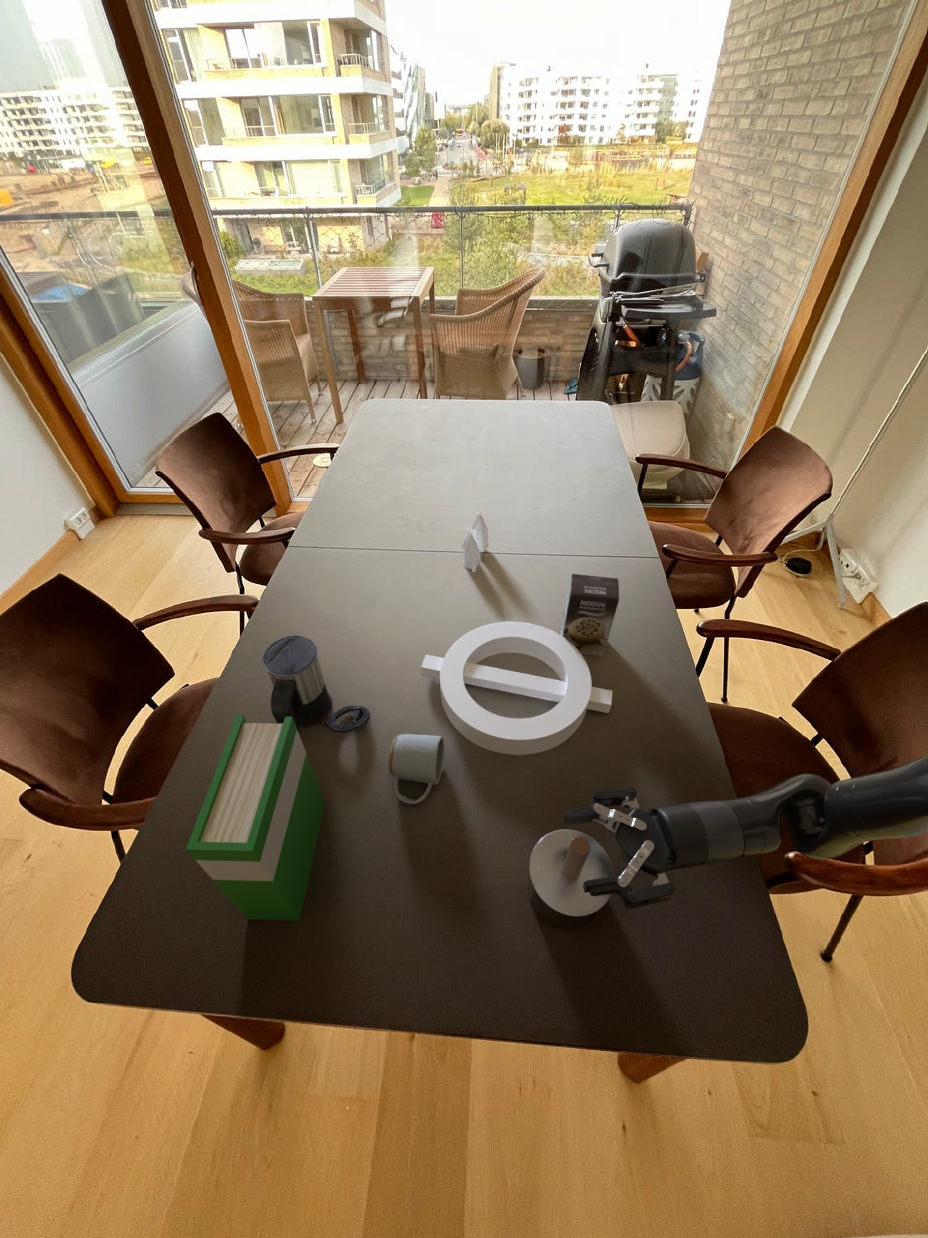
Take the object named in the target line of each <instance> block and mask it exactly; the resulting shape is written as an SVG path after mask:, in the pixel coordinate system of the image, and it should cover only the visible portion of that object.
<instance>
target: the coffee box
mask: <svg viewBox="0 0 928 1238" xmlns="http://www.w3.org/2000/svg"><path fill="white" fill-rule="evenodd" d="M570 574H571V575H570V581H569V585H568V591H567V596H566V601H565V605H564V611H563V616H562V621H561V627H560V630H559V631H560V633H559V635H561V636H562V637H564V638H565V639H567V640H568V641H569V642H570V643H571V644H573V645H574V646H575V647H576V648H577V650H578V651H579V652H580V653H581V655H585V656H593V657H601V658H603V657H605V656H604V655H605V651H606V647H607V645H608V641H609V638H610V634H611V631H612V626H613V624H614V619H615V616H616V613H617V609H618V605H619V602H620V589H619V588H620V586H619V585H620V584H619V579H618V578H616V577H606V576H597V575H589V574H588V575H587V574H578V573H570Z"/></svg>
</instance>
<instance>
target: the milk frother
mask: <svg viewBox="0 0 928 1238" xmlns="http://www.w3.org/2000/svg"><path fill="white" fill-rule="evenodd" d="M261 660H262V661H261V664H262V666H263V668H264V669H265V671H266V672H267V674H268V675H269V679H270V681H271V684H272V686H273V688H272V692H271V696H270V709H271V714H272V716H273V718H274V720H275V722H276V724H283V722H284V719H285V717H293V720H294V723H295V725H296V728H297V730H298V733H299V736H300V737H301V733H302V732H301V728H309V727H313V726H316V725H318V724H319V723H322V724H323V726H325V727H326V728H327V729H328V730H329V731H330V732H332V733H335V734H348V733H352V732H355V731H357V730H359V729H360V728H361V729H362V727H364V726H365V725H366V724H367V723H368V722H369V720H370V719H371V712H370V710H369V709H368V708H367V707H366V706H363V705H361V704H358V705H357V704H356V705H349V706H344V707H343V708H341V709H339V710H337V711H335V712H334V713H332V715H331V716H330V718H329V720H328V721H327V720H326V718H327V717H328V715H329V714H330V712H331V711H332V708H333V707H332V706H333V700H332V696H331V695H330V694H329V692H328V689H327V685H326V683H325V679H324V676H323V671H322V668H321V665H320V661H319V657H318V647H317V645H316V644H315V642H313V640H312V639H310V638H307V637H304V636H301V635H289V636H285V637H282V638H278V639H277V640H275V641H274V642H272V643H271V644H270V645H269V646H268V647H267V648H266V649H265V651H264V653H263V655H262V658H261ZM347 713H352V717H351V724H348V725H343V726H342V725H338V724H336V722H337V720H338V719H339V718H341V716H343V715H345V714H347Z"/></svg>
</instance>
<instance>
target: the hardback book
mask: <svg viewBox="0 0 928 1238" xmlns="http://www.w3.org/2000/svg"><path fill="white" fill-rule="evenodd" d="M303 743H304V742H303V741H302V739H301V735H300V736H299V733H298V730H297V728H296V725H295V723H294V720H293V717H285V719H284V722H283V724H277V723H273V722H272V723H269V722H268V723H267V722H266V723H265V722H247V720H246V718H245V716H244V715H236V716H235V719H234V721H233V724H232V726H231V729H230V732H229V734H228V737H227V740H226V742H225V745H224V748H223V750H222V753H221V755H220V759H219V760H218V763H217V766H216V768H215V772H214V774H213V777H212V779H211V782H210V785H209V787H208V789H207V793H206V795H205V798H204V801H203V803H202V806H201V809H200V810H199V813H198V815H197V819H196V821H195V824H194V826H193V830H192V832H191V835H190V837H189V839H188V841H187V845H186V847H185V850H186V852H188V854H189V855H190V856H191V857H192V858H193V860H194V861H195V862H196V863H197V864H198V865H199V867H200V868H202V870H203V871H204V872H205V874H207V876H208V877H210V879H211V880H212V881H213V882H214V883H215V885H216V886H217V887H218V888H219V889H220V890H221V891H222V892H223V893H224V895H226V897H227V898H228V899H229V900H230V901H231V903H232V904H233V905H234V906H235V908H237V910H239V912H240V913H241V914H242V915H243V917H245V918H246V920H256V921H257V920H259V921H296V922H297V921H298V922H299V921H301V917H302V913H303V908H304V902H305V899H306V894H307V890H308V889H307V888H308V883H309V881H310V874H311V870H312V867H313V862H314V856H315V852H316V847H317V842H318V837H319V833H320V828H321V823H322V818H323V815H324V814H323V813H324V809H325V805H326V801H325V798H324V795H323V793H322V790H321V788H320V784H319V783H318V780H317V778H316V774H315V772H314V770H313V767H312V764H311V761H310V759H309V757H308V754H307V751H306V749H305V746H304V744H303Z"/></svg>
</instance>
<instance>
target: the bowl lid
mask: <svg viewBox="0 0 928 1238" xmlns="http://www.w3.org/2000/svg"><path fill="white" fill-rule="evenodd" d="M533 847H534V848H533V849H532V851H531V854H530V858H529V863H528V874H529V877H530V879H531V883H532V885H533V888H534V890H535V892H536V894H537V895H538V896H539V898H540V899H541V900H542V901H543V902H544V904H546V905H547V906H548V907H549V908H551V909H552V910H554V911H555V912H557V913H559V914H562V915H565V916H569V917H585V916H589V915H591V914H594V913H595V912H597V911H598V912H599V911H601V909H603V908H604V907H605V905H606V904H607V902H608V901H609V899H610V898H611V895H612V894H607V895H601V896H591V895H590V893H589V892H587V893H585V892H584V889H583V884H584V882H585V881H587V880H592V879H599V878H605V877H611V876H615V873H614V868H613V864H612V862H611V861H612V860H611V859H610V857H609V855H608V853H607V852H606V850H605V849H604V847H603V846H602V845H601V844H600V843H599V842H598V841H597V840H595V839H594V838H593V837H591V836H590V835H588V834H586V833H584V832H582V831H578V830H575V829H558V830H554V831H551V832H549V833H547V834H545V835H544V836H543V837H541V838H540V839H539V841H537V843H536V844H535V846H533ZM598 912H597V913H598Z"/></svg>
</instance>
